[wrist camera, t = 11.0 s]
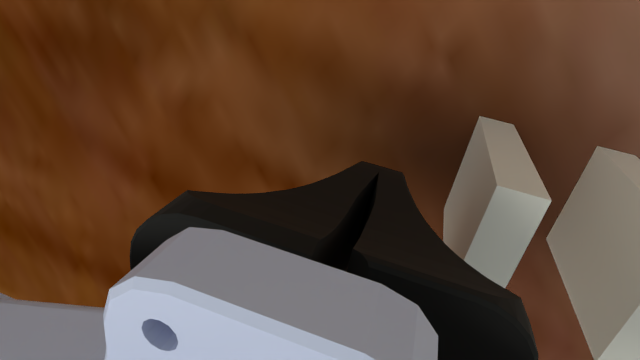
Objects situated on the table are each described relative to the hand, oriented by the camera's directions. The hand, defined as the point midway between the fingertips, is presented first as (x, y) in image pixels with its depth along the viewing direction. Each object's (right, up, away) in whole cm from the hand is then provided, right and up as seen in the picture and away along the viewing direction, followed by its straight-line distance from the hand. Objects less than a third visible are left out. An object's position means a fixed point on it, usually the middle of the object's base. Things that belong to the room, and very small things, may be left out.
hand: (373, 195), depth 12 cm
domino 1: (+4, +1, +3) cm, 6 cm away
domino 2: (+8, 0, +3) cm, 9 cm away
